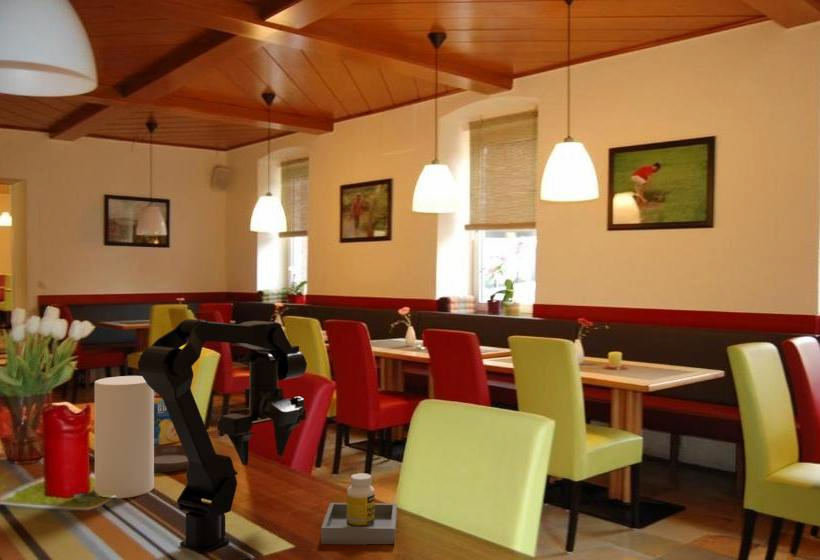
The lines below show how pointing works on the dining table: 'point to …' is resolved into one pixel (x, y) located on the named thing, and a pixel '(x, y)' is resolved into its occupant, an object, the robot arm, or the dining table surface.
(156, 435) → the beverage box
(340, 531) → the gray rectangular open tray
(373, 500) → the supplement bottle
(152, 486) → the cylinder
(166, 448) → the plant saucer
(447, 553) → the dining table surface
